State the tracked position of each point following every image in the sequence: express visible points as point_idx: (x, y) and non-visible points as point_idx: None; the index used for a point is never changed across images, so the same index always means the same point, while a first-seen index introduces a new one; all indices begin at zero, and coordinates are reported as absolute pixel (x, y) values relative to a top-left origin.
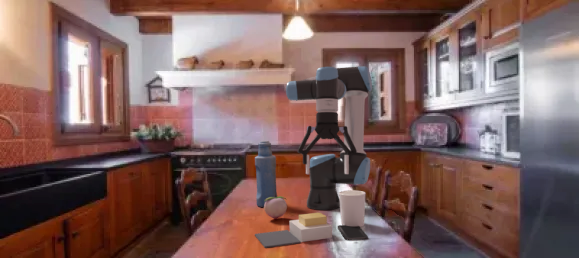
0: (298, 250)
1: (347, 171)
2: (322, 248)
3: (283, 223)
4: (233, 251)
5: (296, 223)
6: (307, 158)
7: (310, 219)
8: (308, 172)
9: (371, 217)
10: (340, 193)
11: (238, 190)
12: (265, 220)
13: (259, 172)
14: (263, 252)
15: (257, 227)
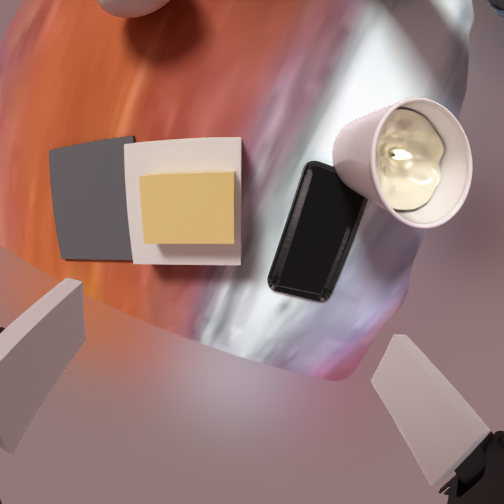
0: (128, 303)
1: (383, 392)
2: (184, 314)
3: (153, 47)
4: (17, 251)
5: (136, 189)
6: (12, 421)
7: (167, 242)
8: (74, 346)
9: None
10: (392, 110)
11: None
12: None
13: None
14: (61, 281)
15: (73, 74)
